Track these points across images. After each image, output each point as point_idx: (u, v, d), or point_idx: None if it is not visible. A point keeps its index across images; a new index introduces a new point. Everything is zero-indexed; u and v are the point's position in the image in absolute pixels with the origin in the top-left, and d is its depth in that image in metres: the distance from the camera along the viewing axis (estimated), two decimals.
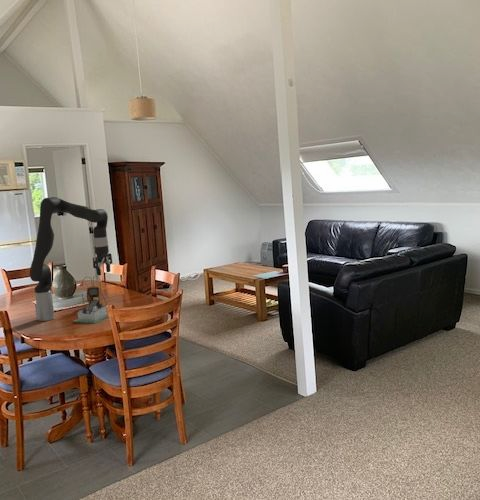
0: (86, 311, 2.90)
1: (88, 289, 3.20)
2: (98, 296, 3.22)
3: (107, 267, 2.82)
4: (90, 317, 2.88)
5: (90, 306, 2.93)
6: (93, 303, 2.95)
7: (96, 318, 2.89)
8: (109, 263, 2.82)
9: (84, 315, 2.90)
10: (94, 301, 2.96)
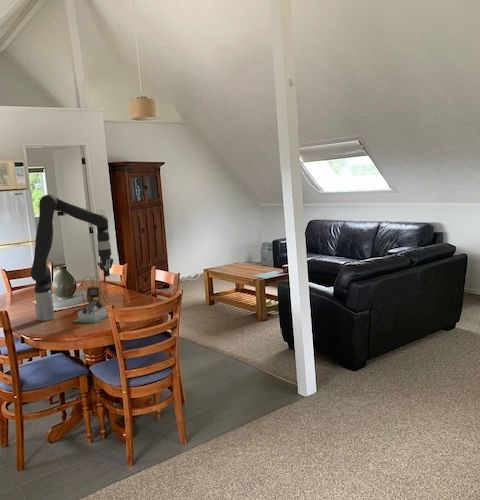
0: (86, 311, 2.90)
1: (88, 289, 3.20)
2: (98, 296, 3.22)
3: None
4: (90, 317, 2.88)
5: (90, 306, 2.93)
6: (93, 303, 2.95)
7: (96, 318, 2.89)
8: (109, 267, 3.03)
9: (84, 315, 2.90)
10: (94, 301, 2.96)
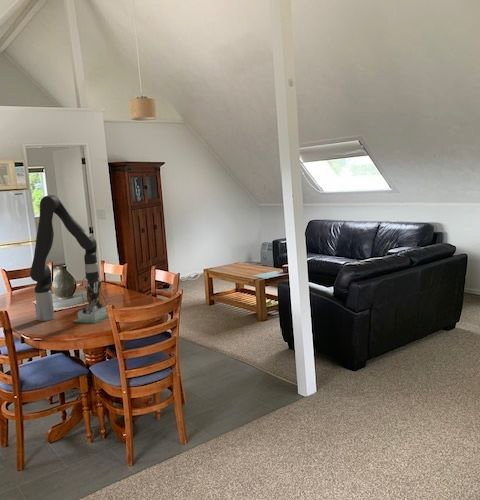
0: (86, 311, 2.90)
1: None
2: (98, 296, 3.22)
3: None
4: (90, 317, 2.88)
5: (90, 306, 2.93)
6: (93, 303, 2.95)
7: (96, 318, 2.89)
8: (96, 290, 2.96)
9: (84, 315, 2.90)
10: (94, 301, 2.96)
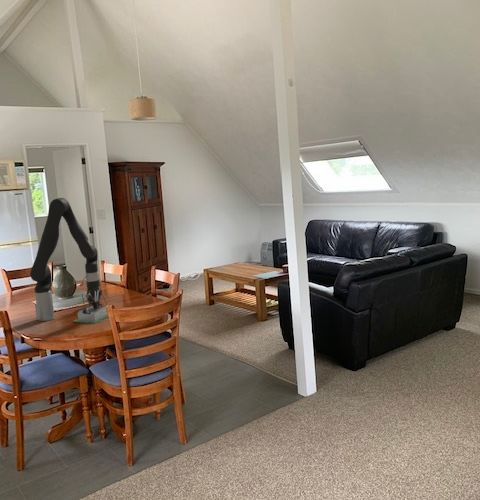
0: (86, 311, 2.91)
1: (88, 289, 3.20)
2: None
3: None
4: (90, 317, 2.88)
5: None
6: (95, 308, 2.96)
7: (96, 318, 2.89)
8: (97, 299, 2.97)
9: (84, 315, 2.90)
10: None
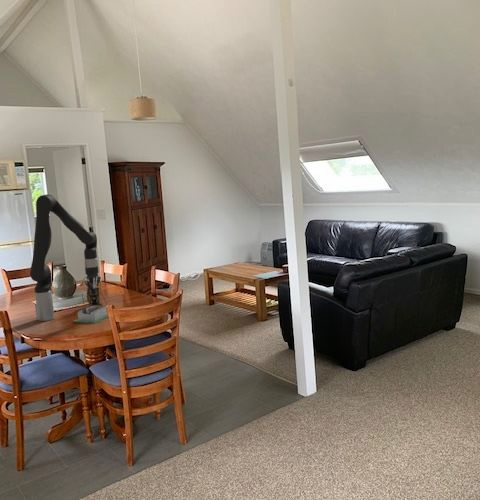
0: (86, 311, 2.91)
1: (88, 289, 3.20)
2: (98, 296, 3.22)
3: None
4: (90, 317, 2.88)
5: None
6: (95, 308, 2.96)
7: (96, 318, 2.89)
8: (95, 285, 2.96)
9: (84, 315, 2.90)
10: (96, 307, 2.98)
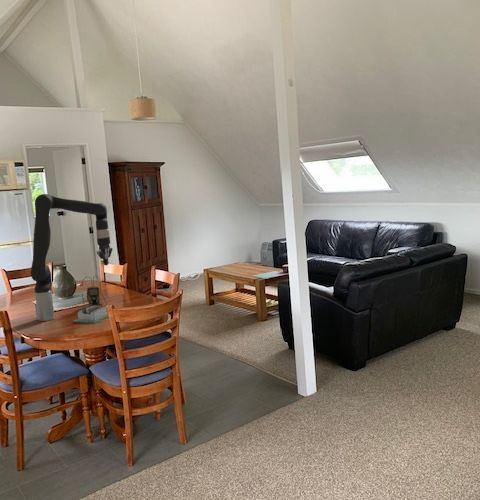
0: (86, 311, 2.91)
1: (88, 289, 3.20)
2: (98, 296, 3.22)
3: None
4: (90, 317, 2.88)
5: None
6: (95, 308, 2.96)
7: (96, 318, 2.89)
8: (107, 256, 3.00)
9: (84, 315, 2.90)
10: (96, 307, 2.98)
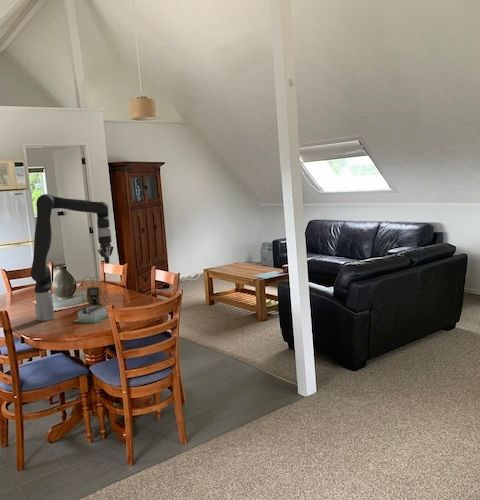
0: (86, 311, 2.91)
1: (88, 289, 3.20)
2: (98, 296, 3.22)
3: None
4: (90, 317, 2.88)
5: None
6: (95, 308, 2.96)
7: (96, 318, 2.89)
8: (108, 254, 3.01)
9: (84, 315, 2.90)
10: (96, 307, 2.98)
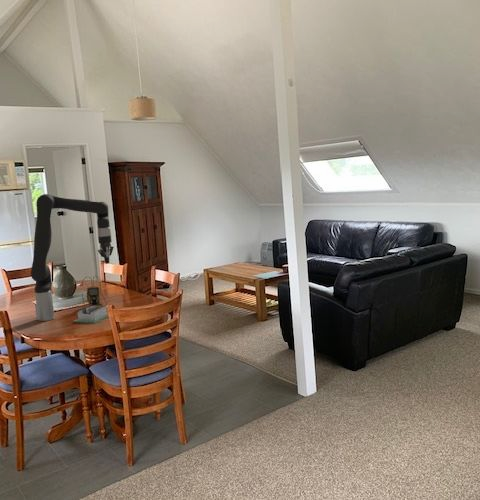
0: (86, 311, 2.91)
1: (88, 289, 3.20)
2: (98, 296, 3.22)
3: None
4: (90, 317, 2.88)
5: None
6: (95, 308, 2.96)
7: (96, 318, 2.89)
8: (108, 254, 3.01)
9: (84, 315, 2.90)
10: (96, 307, 2.98)
